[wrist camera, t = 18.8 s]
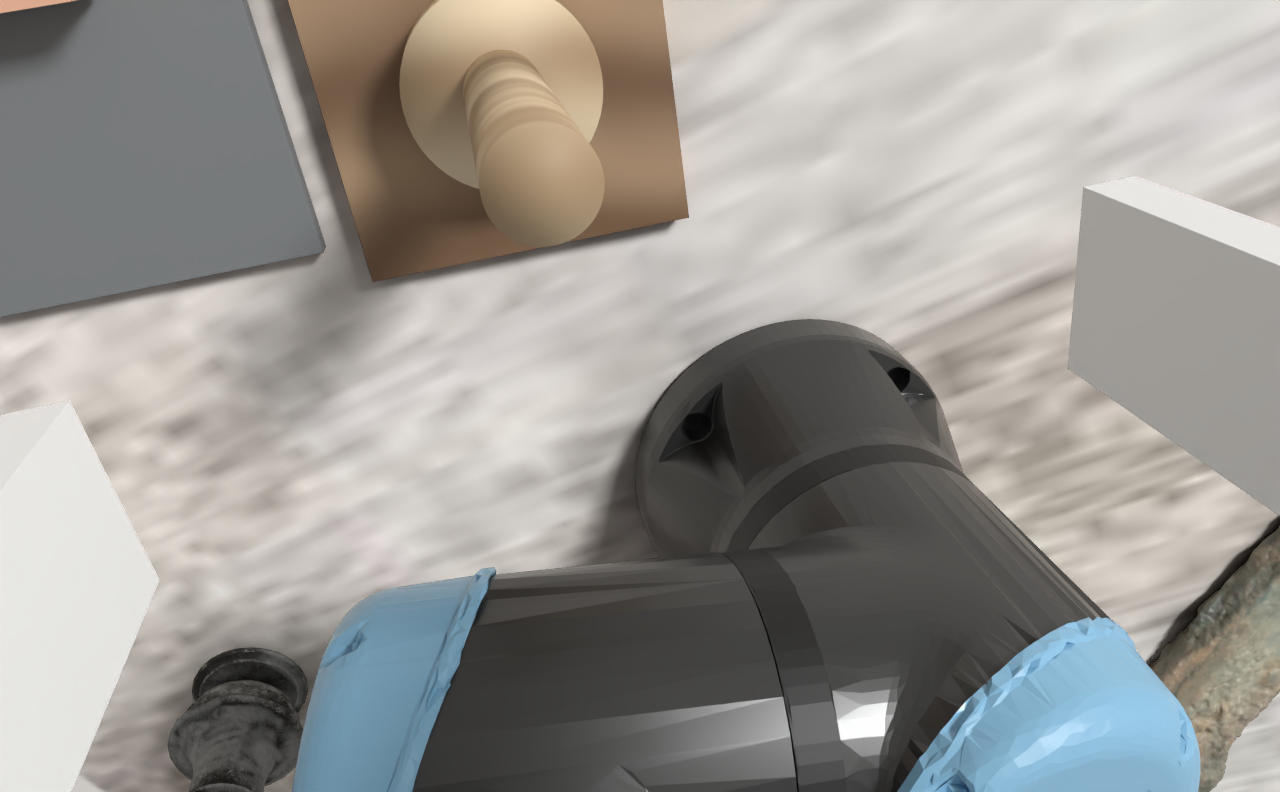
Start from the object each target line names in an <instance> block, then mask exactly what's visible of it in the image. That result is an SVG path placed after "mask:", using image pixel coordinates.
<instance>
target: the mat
mask: <svg viewBox="0 0 1280 792" xmlns="http://www.w3.org/2000/svg"><path fill="white" fill-rule="evenodd" d="M325 247H326V245H325V242H324V239H323V236H322V233H321V230H320V227H319V224H318V220H317V217H316V214H315V211H314V208H313V205H312V202H311V199H310V195H309V192H308V189H307V186H306V183H305V180H304V177H303V174H302V171H301V167H300V164H299V161H298V158H297V155H296V152H295V149H294V146H293V143H292V139H291V136H290V133H289V130H288V127H287V124H286V121H285V118H284V115H283V111H282V108H281V105H280V102H279V99H278V96H277V93H276V90H275V86H274V83H273V80H272V77H271V74H270V71H269V68H268V65H267V62H266V58H265V55H264V52H263V49H262V46H261V43H260V40H259V37H258V34H257V30H256V27H255V24H254V21H253V18H252V15H251V12H250V9H249V6H248V2H247V0H76V1H71V2H65V3H59V4H53V5H47V6H41V7H35V8H29V9H23V10H17V11H11V12H5V13H0V317H3V316H8V315H13V314H18V313H23V312H28V311H33V310H38V309H43V308H48V307H53V306H58V305H63V304H68V303H73V302H78V301H83V300H88V299H93V298H98V297H103V296H108V295H113V294H118V293H123V292H128V291H133V290H138V289H143V288H148V287H153V286H158V285H163V284H168V283H173V282H178V281H183V280H188V279H193V278H198V277H203V276H208V275H213V274H218V273H223V272H228V271H233V270H238V269H243V268H248V267H253V266H258V265H263V264H268V263H273V262H278V261H283V260H288V259H293V258H298V257H303V256H308V255H313V254H318V253H323V252H324V250H325Z"/></svg>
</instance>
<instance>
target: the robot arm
mask: <svg viewBox="0 0 1280 792" xmlns="http://www.w3.org/2000/svg"><path fill="white" fill-rule="evenodd" d="M1068 369H1069V370H1071V371H1072V372H1073V373H1075V374H1076V375H1078V376H1079V377H1081V378H1082V379H1084V380H1085V381H1086V382H1088V383H1089V384H1091V385H1092V386H1094V387H1095V388H1096V389H1098V390H1099V391H1101V392H1102V393H1104V394H1105V395H1107V396H1108V397H1109V398H1111V399H1112V400H1114V401H1115V402H1117V403H1118V404H1119V405H1121V406H1122V407H1124V408H1125V409H1127V410H1128V411H1130V412H1131V413H1132V414H1134V415H1135V416H1137V417H1138V418H1140V419H1141V420H1142V421H1144V422H1145V423H1147V424H1148V425H1150V426H1151V427H1152V428H1154V429H1155V430H1157V431H1158V432H1160V433H1161V434H1163V435H1164V436H1165V437H1167V438H1168V439H1170V440H1171V441H1173V442H1174V443H1175V444H1177V445H1178V446H1180V447H1181V448H1183V449H1184V450H1186V451H1187V452H1188V453H1190V454H1191V455H1193V456H1194V457H1196V458H1197V459H1198V460H1200V461H1201V462H1203V463H1204V464H1206V465H1207V466H1209V467H1210V468H1211V469H1213V470H1214V471H1216V472H1217V473H1219V474H1220V475H1221V476H1223V477H1224V478H1226V479H1227V480H1229V481H1230V482H1231V483H1233V484H1234V485H1236V486H1237V487H1239V488H1240V489H1242V490H1243V491H1244V492H1246V493H1247V494H1249V495H1250V496H1252V497H1253V498H1254V499H1256V500H1257V501H1259V502H1260V503H1262V504H1263V505H1265V506H1266V507H1267V508H1269V509H1270V510H1272V511H1273V512H1275V513H1276V514H1277V515H1279V516H1280V227H1278V226H1275V225H1272V224H1269V223H1266V222H1264V221H1261V220H1258V219H1255V218H1252V217H1249V216H1247V215H1244V214H1241V213H1238V212H1235V211H1233V210H1230V209H1227V208H1224V207H1221V206H1218V205H1216V204H1213V203H1210V202H1207V201H1204V200H1202V199H1199V198H1196V197H1193V196H1190V195H1188V194H1185V193H1182V192H1179V191H1176V190H1173V189H1171V188H1168V187H1165V186H1162V185H1159V184H1157V183H1154V182H1151V181H1148V180H1145V179H1143V178H1140V177H1137V176H1133V177H1128V178H1124V179H1119V180H1114V181H1109V182H1105V183H1100V184H1095V185H1090V186H1086V187H1083V197H1082V209H1081V220H1080V232H1079V243H1078V255H1077V266H1076V278H1075V289H1074V300H1073V312H1072V323H1071V335H1070V346H1069V358H1068ZM635 484H636V494H637V500H638V504H639V508H640V511H641V515H642V517H643V520H644V523H645V526H646V529H647V531H648V534H649V537H650V539H651V542H652V544H653V546H654V548H655V550H656V552H657V553H658V555H659V556H660V558H653V559H644V560H634V561H624V562H614V563H605V564H595V565H585V566H576V567H566V568H556V569H546V570H537V571H527V572H517V573H507V574H498V575H495V574H496V570H495V568H494V567H493V568H483V569H481V570H479V571H478V572H477V573H476V574H475V575H474V576H469V577H462V578H456V579H449V580H442V581H436V582H429V583H423V584H416V585H409V586H403V587H396V588H390V589H386V590H382V591H379V592H377V593H375V594H373V595H370V596H368V597H367V598H365V599H363V600H362V601H360V602H359V603H358V604H357V605H355V606H354V607H353V608H352V609H351V610H350V611H349V612H348V613H347V614H346V615H345V617H344V618H343V619H342V621H341V622H340V623H339V625H338V626H337V628H336V630H335V631H334V633H333V635H332V637H331V639H330V641H329V643H328V645H327V648H326V650H325V653H324V655H323V658H322V661H321V663H320V667H319V670H318V673H317V677H316V680H315V683H314V687H313V690H312V694H311V698H310V702H309V706H308V710H307V714H306V719H305V723H304V728H303V733H302V737H301V743H300V748H299V754H298V759H297V765H296V770H295V776H294V782H293V788H292V792H1198V789H1199V782H1200V751H1199V746H1198V741H1197V738H1196V735H1195V731H1194V728H1193V726H1192V723H1191V721H1190V719H1189V717H1188V716H1187V714H1186V712H1185V710H1184V708H1183V707H1182V705H1181V704H1180V702H1179V701H1178V700H1177V699H1176V697H1175V696H1174V695H1173V694H1172V693H1171V692H1170V690H1169V689H1168V688H1167V687H1166V686H1165V685H1164V684H1163V682H1162V681H1161V680H1160V679H1159V678H1158V676H1157V675H1156V674H1155V673H1154V672H1153V671H1152V669H1151V668H1150V667H1149V666H1148V665H1147V664H1146V662H1145V661H1144V660H1143V659H1142V658H1141V656H1140V655H1139V654H1138V653H1137V652H1136V649H1135V645H1134V643H1133V641H1132V640H1131V638H1130V637H1129V636H1128V634H1127V632H1126V631H1125V630H1124V629H1123V628H1122V627H1120V626H1119V625H1118V624H1117V623H1115V622H1114V621H1113V620H1111V619H1110V618H1109V617H1108V616H1107V615H1106V614H1105V613H1104V612H1103V611H1102V610H1101V609H1100V608H1099V607H1098V606H1097V605H1096V604H1095V603H1094V602H1093V601H1092V600H1091V599H1090V598H1089V597H1088V596H1087V595H1086V594H1085V593H1084V592H1083V591H1082V590H1081V589H1080V588H1079V587H1078V586H1077V585H1076V584H1075V583H1074V582H1073V581H1072V580H1070V579H1069V578H1068V577H1067V576H1066V575H1065V574H1064V573H1063V572H1062V571H1061V570H1060V569H1059V568H1058V567H1057V566H1056V565H1055V564H1054V563H1053V562H1052V561H1051V560H1050V559H1049V558H1048V557H1047V556H1046V555H1045V554H1044V553H1043V552H1042V551H1041V550H1040V549H1039V548H1038V547H1037V546H1036V545H1035V544H1034V543H1033V542H1032V541H1031V540H1030V539H1029V538H1028V537H1027V536H1026V535H1025V534H1024V533H1023V532H1022V531H1021V530H1020V529H1019V528H1018V527H1017V526H1016V525H1015V524H1014V523H1013V522H1012V521H1011V520H1010V519H1009V518H1008V517H1007V516H1005V515H1004V514H1003V513H1002V512H1001V511H1000V510H999V509H998V508H997V507H996V506H995V505H994V504H993V503H992V502H991V501H990V500H989V499H988V498H987V497H986V496H985V495H984V494H983V493H982V492H981V491H980V490H979V489H978V488H977V487H976V486H975V485H974V484H973V483H972V482H971V481H970V480H969V479H968V478H967V477H966V476H965V475H964V473H963V470H962V467H961V464H960V461H959V458H958V455H957V452H956V449H955V446H954V443H953V440H952V437H951V434H950V431H949V428H948V425H947V422H946V419H945V416H944V413H943V410H942V407H941V405H940V403H939V401H938V399H937V397H936V395H935V393H934V392H933V390H932V389H931V387H930V385H929V384H928V383H927V381H926V380H925V379H924V377H923V376H922V375H921V374H920V373H919V372H918V371H917V370H916V369H915V367H913V366H912V365H911V364H910V363H909V362H908V361H907V360H906V359H905V358H904V357H903V356H902V355H901V354H899V353H898V352H897V351H896V350H895V349H894V348H893V347H891V346H890V345H889V344H888V343H886V342H885V341H883V340H882V339H880V338H879V337H877V336H875V335H874V334H872V333H869V332H867V331H865V330H863V329H860V328H858V327H855V326H852V325H848V324H845V323H840V322H835V321H828V320H813V319H807V320H792V321H784V322H779V323H774V324H770V325H766V326H762V327H759V328H756V329H753V330H750V331H748V332H745V333H743V334H740V335H738V336H736V337H734V338H732V339H730V340H728V341H726V342H724V343H722V344H721V345H719V346H717V347H716V348H714V349H713V350H711V351H710V352H708V353H706V354H705V355H704V356H703V357H701V358H700V359H699V360H697V361H696V362H695V363H694V364H693V365H691V366H690V367H689V368H688V369H687V370H686V371H685V372H684V373H683V374H682V375H681V376H680V377H679V378H678V379H677V380H676V381H675V382H674V383H673V385H672V386H671V387H670V388H669V389H668V391H667V392H666V393H665V395H664V396H663V397H662V399H661V400H660V402H659V403H658V405H657V406H656V408H655V410H654V412H653V414H652V415H651V417H650V419H649V422H648V424H647V426H646V428H645V431H644V433H643V436H642V439H641V443H640V446H639V450H638V455H637V461H636V472H635ZM158 583H159V578H158V576H157V574H156V572H155V570H154V568H153V566H152V564H151V562H150V560H149V558H148V556H147V554H146V552H145V550H144V548H143V546H142V544H141V542H140V540H139V538H138V536H137V534H136V532H135V530H134V528H133V526H132V524H131V522H130V520H129V518H128V516H127V514H126V512H125V510H124V508H123V506H122V504H121V502H120V500H119V498H118V496H117V494H116V492H115V490H114V488H113V486H112V484H111V482H110V480H109V478H108V476H107V474H106V472H105V470H104V468H103V466H102V464H101V462H100V460H99V458H98V456H97V454H96V452H95V450H94V448H93V446H92V444H91V442H90V440H89V438H88V436H87V434H86V432H85V430H84V428H83V426H82V424H81V422H80V420H79V418H78V416H77V414H76V412H75V410H74V408H73V406H72V404H71V402H70V401H65V402H60V403H55V404H50V405H46V406H41V407H36V408H31V409H27V410H22V411H17V412H12V413H8V414H3V415H1V417H0V792H72V789H73V787H74V785H75V782H76V780H77V777H78V775H79V773H80V770H81V768H82V765H83V763H84V761H85V758H86V756H87V753H88V751H89V749H90V746H91V744H92V741H93V739H94V737H95V734H96V732H97V729H98V727H99V725H100V722H101V720H102V717H103V715H104V713H105V710H106V708H107V705H108V703H109V701H110V698H111V696H112V693H113V691H114V689H115V686H116V684H117V681H118V679H119V677H120V674H121V672H122V669H123V667H124V665H125V662H126V660H127V657H128V655H129V653H130V650H131V648H132V645H133V643H134V641H135V638H136V636H137V633H138V631H139V628H140V626H141V624H142V621H143V619H144V616H145V614H146V612H147V609H148V607H149V604H150V602H151V600H152V597H153V595H154V592H155V590H156V588H157V585H158Z"/></svg>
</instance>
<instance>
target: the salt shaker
mask: <svg viewBox="0 0 1280 792" xmlns="http://www.w3.org/2000/svg"><path fill="white" fill-rule="evenodd" d="M307 690H308V689H307V681H306V678H305V676H304V674H303V672H302V670H301V669H300V667H299V666H298V665H297V664H296V663H295V662H294V661H293V660H291V659H289V658H287V657H286V656H284V655H282V654H280V653H277V652H274V651H271V650H268V649H260V648H240V649H234V650H231V651H227V652H224V653H221V654H219V655H218V656H216V657H214V658H212V659H210V660H209V661H208V662H207V663H206V664H205V665H204V666H202V667H201V668H200V670H199V672H198V673H197V675H196V677H195V679H194V683H193V689H192V693H193V698H194V703H193V704H192V705H191V706H190V707H189V709H188V710H187V711H186V712H185V713H184V714H183V715H182V716H181V717H180V718H179V719H178V720H177V721H176V723H175V725H174V726H173V728H172V730H171V731H170V736H169V741H168V749H169V754H170V758H171V760H172V761H173V763H174V764H175V766H176V767H177V769H178V770H179V771H180V772H182V773H183V774H184V775H185V776H186V777H187V778H189V779H190V780H192V782H191V786H190V789H189V792H263V790H264V786H267V785H270V784H272V783H274V782H275V781H277V780H279V779H281V778H283V777H285V776H286V775H287V774H288V773H289V772H290V771H292V770H293V769H294V768H295V767H296V765H297V759H298V754H299V748H300V743H301V737H302V733H303V728H302V726H301V724H300V720H299V717H298V714H297V712H299V710H300V709H301V707H302V705H303V704H304V702H305V699H306V695H307Z"/></svg>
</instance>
